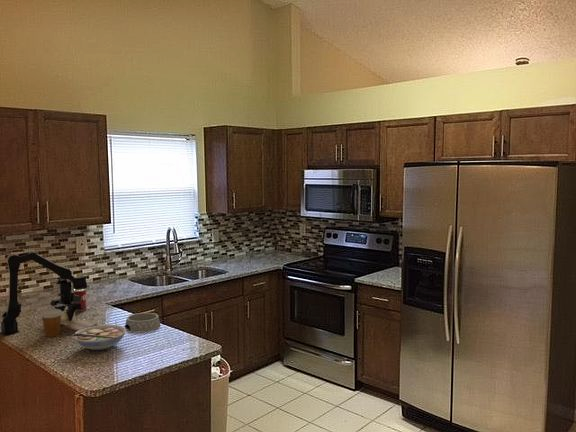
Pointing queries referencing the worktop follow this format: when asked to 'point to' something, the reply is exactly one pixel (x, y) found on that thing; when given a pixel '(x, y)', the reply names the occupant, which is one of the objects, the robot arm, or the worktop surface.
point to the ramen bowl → (99, 336)
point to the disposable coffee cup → (51, 322)
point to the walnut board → (77, 326)
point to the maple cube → (66, 318)
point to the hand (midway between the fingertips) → (66, 319)
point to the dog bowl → (143, 321)
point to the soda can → (83, 299)
